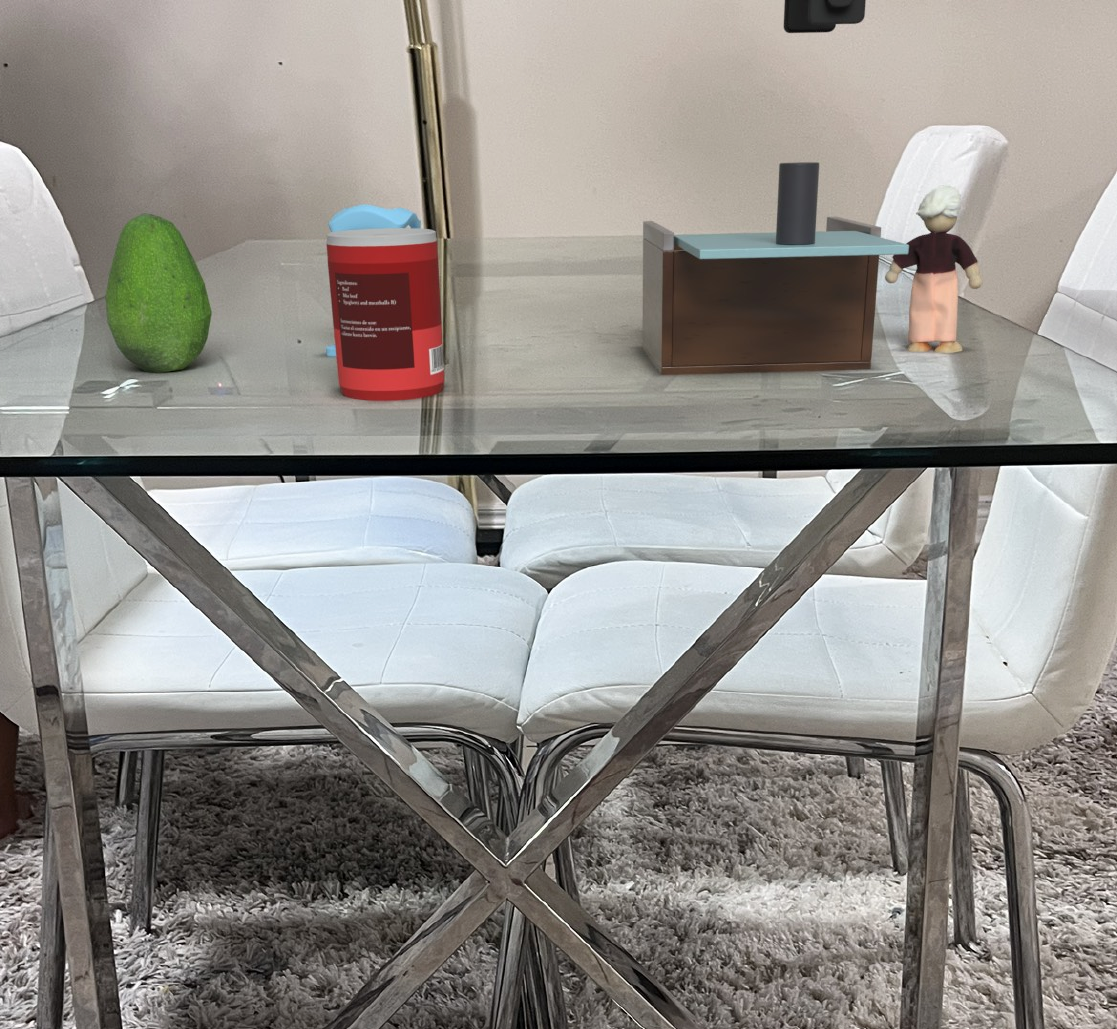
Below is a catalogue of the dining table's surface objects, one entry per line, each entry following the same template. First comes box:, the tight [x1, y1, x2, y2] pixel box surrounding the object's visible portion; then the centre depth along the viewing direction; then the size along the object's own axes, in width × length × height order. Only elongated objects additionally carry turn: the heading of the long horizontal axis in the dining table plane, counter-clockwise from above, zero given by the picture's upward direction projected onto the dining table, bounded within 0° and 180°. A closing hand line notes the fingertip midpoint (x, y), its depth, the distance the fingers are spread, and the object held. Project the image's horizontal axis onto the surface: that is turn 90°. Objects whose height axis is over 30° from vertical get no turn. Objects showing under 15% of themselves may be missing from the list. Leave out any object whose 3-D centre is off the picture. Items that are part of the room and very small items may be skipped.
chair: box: [325, 203, 422, 357], centre depth 113 cm, size 8×8×12 cm
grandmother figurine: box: [884, 184, 983, 354], centre depth 107 cm, size 8×4×13 cm, turn 72°
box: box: [641, 216, 882, 376], centre depth 106 cm, size 16×14×10 cm
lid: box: [674, 161, 909, 259], centre depth 93 cm, size 14×14×6 cm
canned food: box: [325, 227, 445, 402], centre depth 94 cm, size 8×8×11 cm
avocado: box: [104, 212, 213, 374], centre depth 105 cm, size 8×8×12 cm
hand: (822, 25), depth 81 cm, fingers open, 6 cm apart
